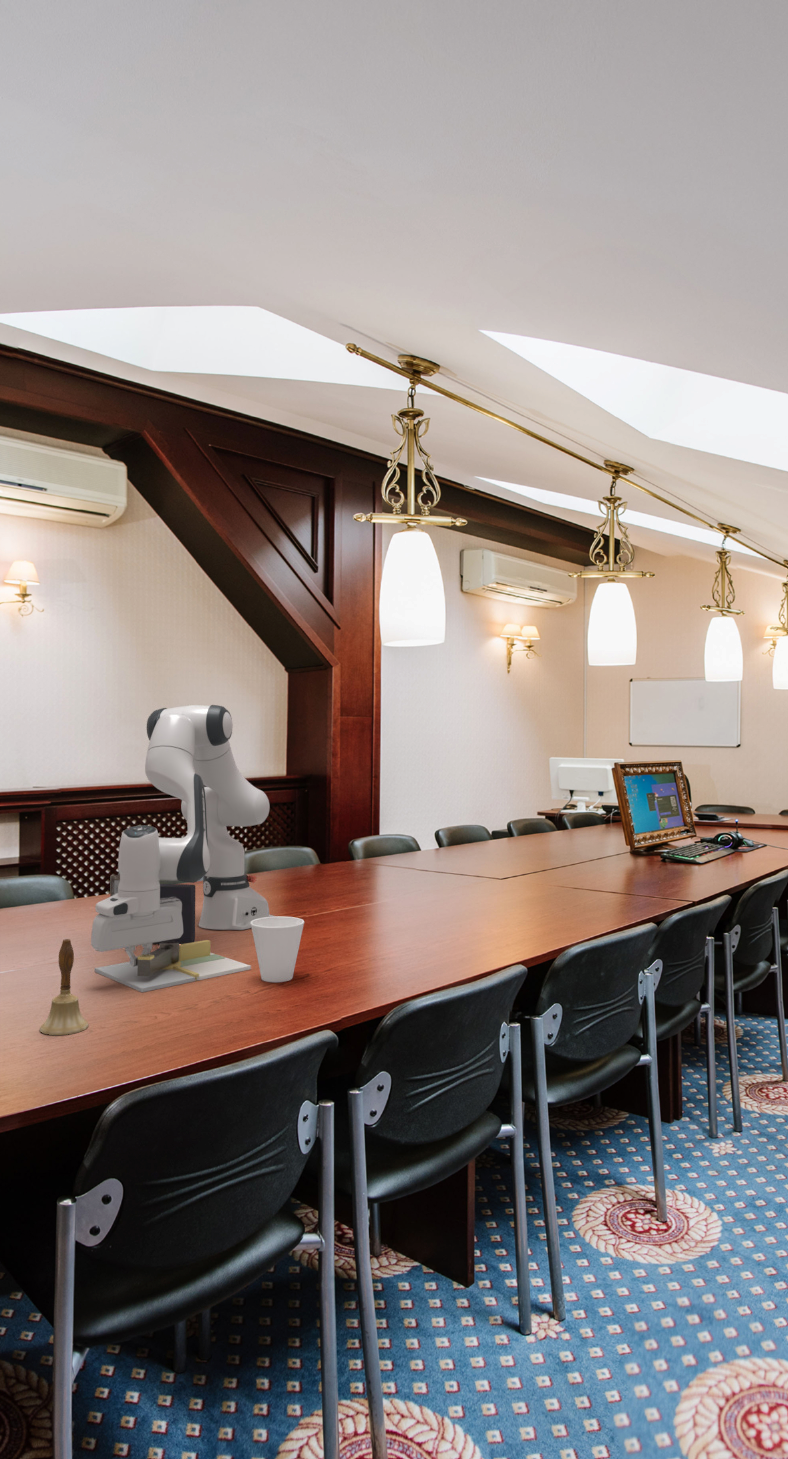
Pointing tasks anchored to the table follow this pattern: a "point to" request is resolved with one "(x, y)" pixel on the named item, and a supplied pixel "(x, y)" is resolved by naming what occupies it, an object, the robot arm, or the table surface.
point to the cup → (277, 946)
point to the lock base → (176, 969)
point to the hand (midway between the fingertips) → (138, 965)
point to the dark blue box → (188, 909)
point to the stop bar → (158, 958)
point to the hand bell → (65, 1000)
